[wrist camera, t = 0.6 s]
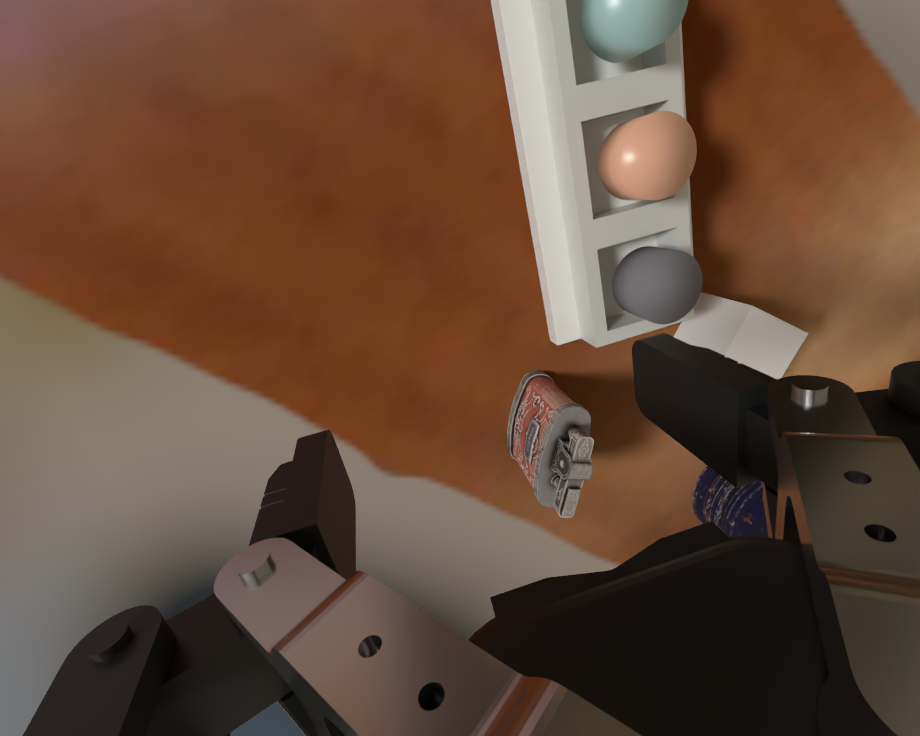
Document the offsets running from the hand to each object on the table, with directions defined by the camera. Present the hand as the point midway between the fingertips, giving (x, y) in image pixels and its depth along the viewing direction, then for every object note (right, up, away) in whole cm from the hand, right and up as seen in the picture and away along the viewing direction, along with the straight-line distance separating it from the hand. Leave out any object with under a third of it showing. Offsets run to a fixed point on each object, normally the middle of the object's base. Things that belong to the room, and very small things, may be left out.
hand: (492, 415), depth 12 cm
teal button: (+8, +22, +15) cm, 28 cm away
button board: (+9, +16, +22) cm, 29 cm away
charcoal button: (+12, +7, +21) cm, 26 cm away
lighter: (+5, -3, +28) cm, 29 cm away
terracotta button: (+10, +15, +18) cm, 26 cm away
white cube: (+21, +4, +29) cm, 36 cm away
